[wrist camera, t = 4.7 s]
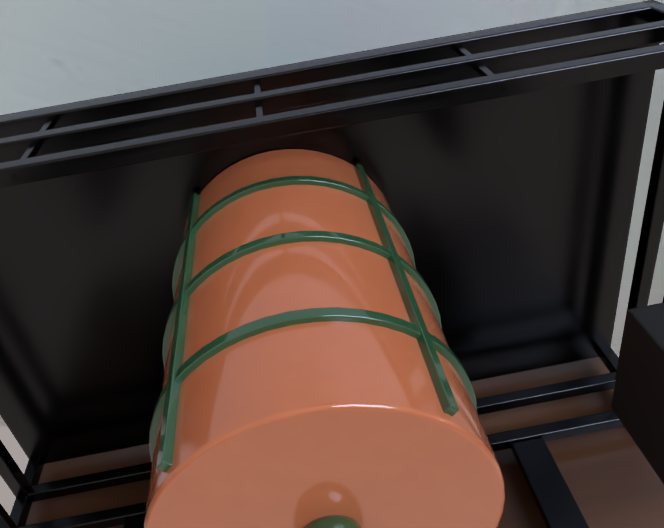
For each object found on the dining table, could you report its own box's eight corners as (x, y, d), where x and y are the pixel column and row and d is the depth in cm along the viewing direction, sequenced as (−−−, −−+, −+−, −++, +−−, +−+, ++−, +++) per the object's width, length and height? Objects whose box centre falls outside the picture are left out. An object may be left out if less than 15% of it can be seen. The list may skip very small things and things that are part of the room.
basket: (-159, 142, 15) (-1175, 910, 4) (653, -1, 16) (1600, 348, 5) (65, 496, 23) (-86, 1069, 12) (594, 393, 24) (895, 854, 13)
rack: (52, 219, 28) (-329, 992, 9) (513, 135, 28) (1052, 697, 10) (124, 377, 34) (-17, 1054, 15) (508, 304, 34) (840, 866, 15)
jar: (149, 167, 16) (57, 507, 8) (389, 123, 16) (547, 411, 8) (209, 347, 19) (190, 710, 11) (405, 310, 20) (526, 641, 11)
